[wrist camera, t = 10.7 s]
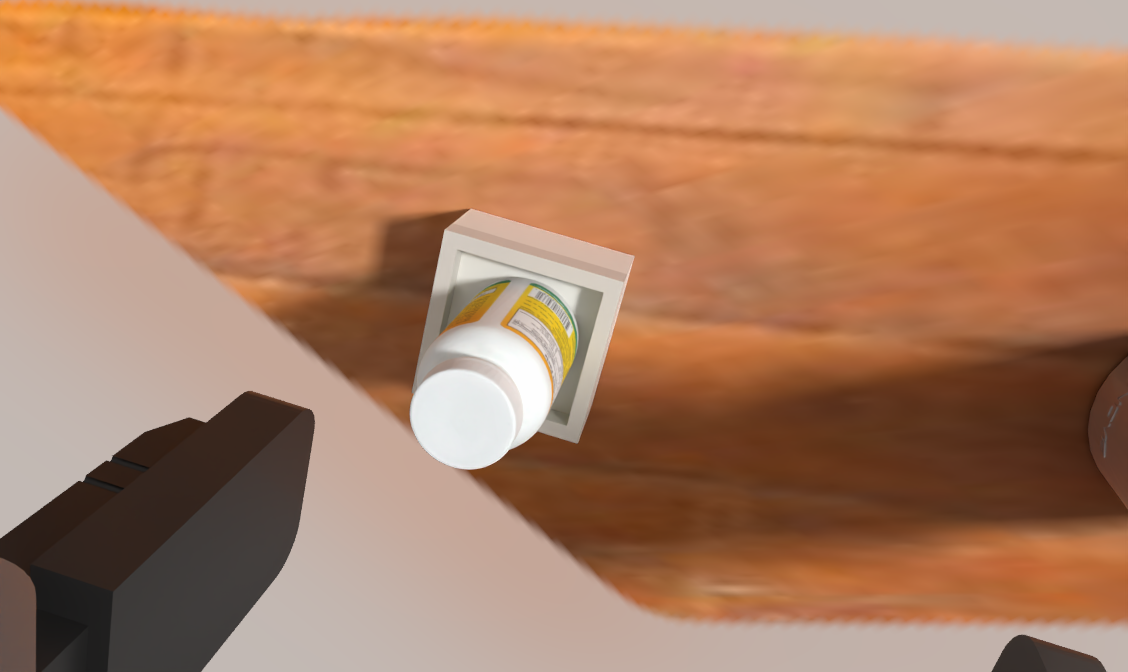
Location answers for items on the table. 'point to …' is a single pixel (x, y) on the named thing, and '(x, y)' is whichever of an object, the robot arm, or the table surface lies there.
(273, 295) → the table surface
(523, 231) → the grey open box
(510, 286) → the supplement bottle
